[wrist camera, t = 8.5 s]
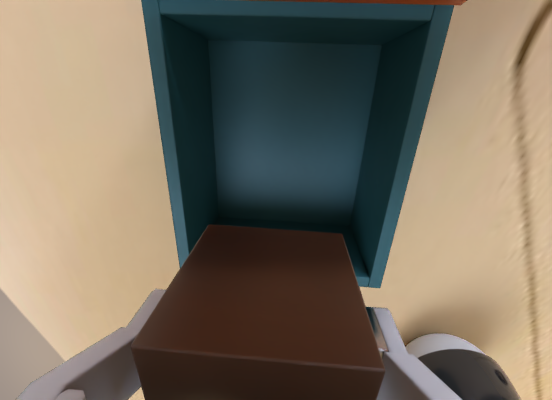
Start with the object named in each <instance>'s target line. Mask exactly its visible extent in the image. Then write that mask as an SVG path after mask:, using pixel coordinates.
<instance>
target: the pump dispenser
mask: <svg viewBox="0 0 552 400" xmlns="http://www.w3.org/2000/svg"><path fill="white" fill-rule="evenodd" d="M405 348H406V350H407V352H408V354H413V355H414V356H415V357H417V358H418V359H419V360H420V361H421V362H422V363H423V364H424V365H425V366H426V367H427V368H428V369H430V370H431V371H432V372H433V373H434V374H435V375H436V376H437V377H438V378H439V379H440V380H441V381H443V382H444V383H445V384H446V385H447V386H448V387H449V388H450V389H451V390H452V391H453V392H454V393H456V394H457V395H458V396H459V397H460V398H461V399H462V400H521V398H520V396H519V395H518V393H517V391H516V389H515V388H514V386H513V384H512V383H511V381H510V379H509V378H508V376H507V375H506V374H505V372H504V371H503V369H502V368H501V367H500V365H499V364H498V363H497V362H496V361H495V360H493V359H492V358H490V357H489V356H487V355H485V354H484V353H483V352H482V351H481V350H480V349H479V348H477V347H476V346H474V345H473V344H471V343H470V342H468V341H466V340H464V339H462V338H459V337H457V336H453V335H449V334H442V333H435V334H427V335H423V336H421V337H418V338H416V339H414V340H413V341H411V342H410V343H409V344H408V345H407V346H406V347H405Z"/></svg>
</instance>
